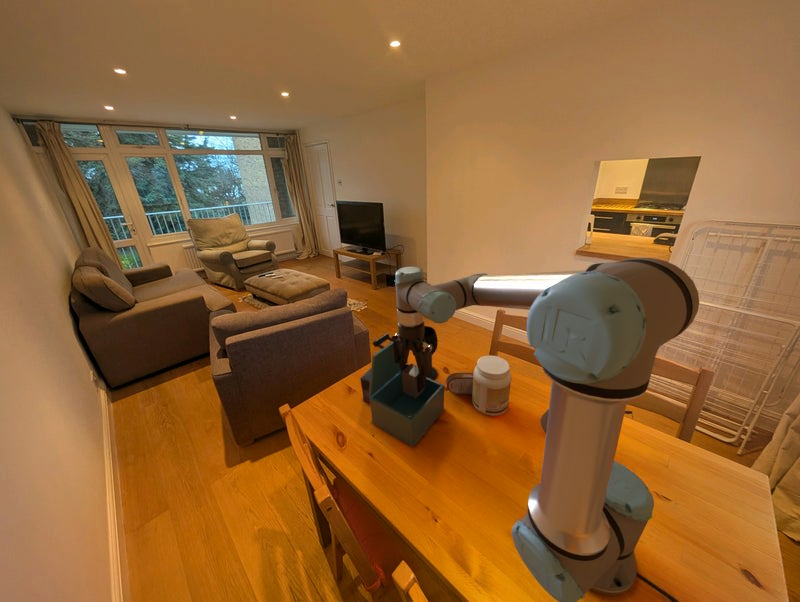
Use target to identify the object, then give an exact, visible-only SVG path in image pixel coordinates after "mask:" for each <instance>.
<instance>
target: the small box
mask: <svg viewBox="0 0 800 602" xmlns="http://www.w3.org/2000/svg"><path fill="white" fill-rule="evenodd" d="M370 377H371V367H370V368H369V369H367V371H366V372H365V373H364V374H363V375H361V377H360V378H359V380H360V386H361V391H362V399H363V401H364V402H366V403H369V404H370V397H369V386H370Z"/></svg>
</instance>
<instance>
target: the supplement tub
mask: <svg viewBox="0 0 800 602" xmlns="http://www.w3.org/2000/svg"><path fill="white" fill-rule="evenodd" d="M510 367H511V366H510V364H509V362H508V361H507V360H506V359H505V358H503V357H500V356H498V355H497V356H496V355H484V356H481V357H479V358H478V359H477V361H476V366H475V367H474V368H473V369H474V370H473V372H472V373H473V391H472V394H471V401H472V404H473V406H474V408H475V409H476V410H477V411H478V412H480V413H482V414H484V415H487V416H500V415H503V414H504V413H506V412H507V410H508V408H509V402H510V395H511V394H510V393H511V385H512V373H511V370H510V369H511V368H510Z"/></svg>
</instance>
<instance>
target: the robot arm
mask: <svg viewBox="0 0 800 602" xmlns="http://www.w3.org/2000/svg"><path fill="white" fill-rule="evenodd" d="M394 275H395V277H394V278H395V283H394V286H395V297H396V299H395V300H396V311H397V312H396V315H397V322H398V323H397V332H396V333H395V334H393V335H392V336H391V338H392V340H393V343H394V358H395V363H396V364H397V363H398V364H399V366H400V368H401V374H402V371H403V370H404V369H405V368H407V367H408V366H409V365H410V364H409V361H408V360H409V355H410V351H411V352H412V355H413V356H414V360H415V363H416V366H417V367H418V371H419V373H418V374H417V384H418V392H419V393H420V392H421V391H422V390H423V389H424V388H425V386H424V383H425V382H426V376H428V375H429V374H430V373H431V372H432V367H433V355H432V350H433V345H432V344H430V345H428V344H427V343H425V339H424V332H425V331H424V326H425V319H427V320H429V321H431V322H433V323H435V324H445V323H447V322H448V321H449V320H450V319H451V318H453V316H454V314H455V313H456V312H457V311H459V310H461V309H462V310H463V309H465V308H468V307H471V306H477V307H491V308H493V307H494V308H505V309H516V310H527V311H528V314H527V319H526V336H527V341H528V344H529V347H533V348H534V351H535V352H533V355H534V357H535V359H536V360H537V361H538V363H539V364H540V365H541V368H542V370H543V372H544V374H545V375H546V377H547V378H548V379H549V380H551V388H550V396H549V404H548V409H549V412H548V421H547V430H546V433H545V440H544V449H543V458H542V466H541V473H540V482H538V483H537V484H535V486H533V487H532V489H531V490H530V492H529V496H528V500H527V510H526V514H525V515H524V517H522V518H520V519H517V520H516V522H515V523H514V524H513V526H512V527H511V538H512V543H513V544H514V548H515V550H516V551H517V553H518V555H519V556H520V558H521V560H522V562H523V564H524V565H525V567H526V568H527V569H528V571H529V573H530V574H531V575H532V576H533V577H534V579H535V581H537V583H538V584H539V586H540V587H542V589H544V591H546V593H548V595H549V596H551V597H552V599H555V600H556V601H557V602H579V601H580V600H581V599H584V598H585V596H586V594H587V593H588V592H589V590H590V591H591V592H594V593H597V594H599V595H601V596H606V597H620V596H623V595H624V594H626V593H627V592H629V591H630V590H631V589H632V587H633V585H634V583H635V580H636V579H639V580H640V581H642V582H644V583H645V584H647V585H648V586H649V587H651V588H652V589H654V590H656V591H657V592H658V593H660V594H661V595H663V596H664V597H666V598H667V599H668V600H670V601H671V602H680V601H679V600H678V599H676V598H675V597H674V596H673V595H671V594H669V593H668V592H667V591H665V590H664V589H662V588H661V587H659V586H658V585H656V584H655V583H653V582H652V581H651V580H649V579H647V578H646V577H645V576H643V575H641V574H640V573H639V572H638V566H637V560H636V555H635V549H636V547H637V545H638V542H639V541H640V538H641V537H642V535H643V533H644V531H645V528H646V527H647V524H648V522H649V521H650V520H651V519H652V518H653V511H654V507H655V501H654V500H655V499H654V496H653V494H652V492H651V491H650V489H649V487H648V486H647V484H646V483H645V481H643V480H642V478H640V476H639V475H638V474H636V472H634V471H632V469H630V468H628V467H627V466H625V465H624V464H622V463H620V462H618V461H616V460H615V457H616V453H617V448H618V443H619V440H620V436H621V430H622V426H623V422H624V417H625V411H626V409H627V405H628V404H627V403H628V401H632V400H635V399H638V398H640V397H642V396H643V395H645V393H646V392H647V390H648V387H649V385H650V380H651V376H652V373H653V369H654V364H655V361H656V357H657V354H658V351H659V350H660V348H661V346H663V345H665V344H667V343H668V342H670V341H671V340H673V339H674V338H676V337H678V336H680V335H681V334H683V333H684V332H685V331H686V330H687V329H688V328H689V327H690V326H691V325H692V323H693V322H694V321H695V319H696V316H697V314H698V312H699V307H700V297H699V291H698V288H697V286H696V284H695V282H694V280H693V279H692V278H691V277H690V275H688V273H687V272H686V271H685V270H683V269H681V268H680V267H679V266H678V265H676V264H673V263H671V262H669V261H667V260H664V259H660V258H654V257H633V258H628V259H623V260H618V261H610V262H600V263H598V262H597V263H592V264H590V265H588V266H586V268H585V269H583V270H565V271H547V272H546V271H545V272H544V271H543V272H525V273H523V272H522V273H507V274H488V273H486V272H481V273H476V274H471V275H468V276H465V277H461V278H457V279H453V280H448V281H445V282H440V283H437V284H431V283H429V282H427V281H425V276H424V271H423V269H422V268H421V267H418V266H404V267H401V268H399V269H397V270H396V271H395V274H394ZM402 344H403V345H402ZM422 346H423V348H424V350H423V348H422ZM423 351H424V356H423Z"/></svg>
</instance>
